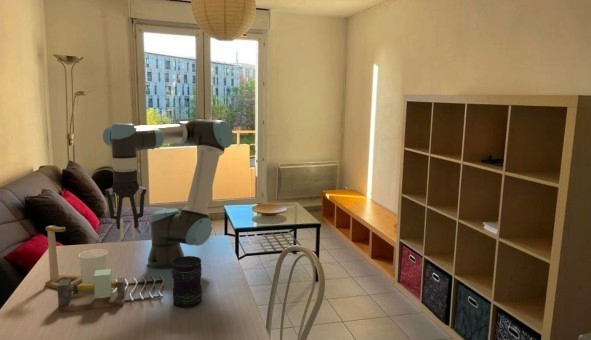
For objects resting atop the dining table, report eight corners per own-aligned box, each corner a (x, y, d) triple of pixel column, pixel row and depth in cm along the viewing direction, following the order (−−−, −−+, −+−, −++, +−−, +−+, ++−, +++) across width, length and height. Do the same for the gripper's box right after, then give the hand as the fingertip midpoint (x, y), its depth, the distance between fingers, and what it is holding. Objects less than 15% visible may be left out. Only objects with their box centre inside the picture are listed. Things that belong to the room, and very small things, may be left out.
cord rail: (125, 295, 151) (124, 272, 150) (123, 305, 143) (122, 281, 142) (63, 301, 145) (61, 278, 144) (57, 312, 138) (56, 287, 136)
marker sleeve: (112, 288, 148) (111, 268, 147) (110, 295, 143) (109, 274, 142) (97, 290, 146) (96, 270, 145) (94, 296, 142) (93, 275, 141)
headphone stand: (66, 291, 153) (62, 232, 150) (40, 287, 155) (36, 230, 152) (86, 279, 163) (83, 224, 160) (61, 276, 166) (58, 222, 162)
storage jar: (168, 300, 148) (167, 259, 145) (194, 293, 154) (194, 254, 151) (179, 311, 140) (178, 268, 138) (206, 303, 146) (206, 262, 143)
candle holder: (80, 291, 153) (78, 259, 151) (80, 281, 162) (78, 251, 160) (109, 286, 158) (108, 255, 156) (108, 276, 166) (106, 247, 164)
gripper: (150, 167, 147) (153, 232, 150) (100, 168, 142) (104, 236, 146) (150, 171, 139) (152, 239, 143) (97, 172, 135) (101, 242, 138)
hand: (128, 237), depth 144 cm, fingers open, 3 cm apart
